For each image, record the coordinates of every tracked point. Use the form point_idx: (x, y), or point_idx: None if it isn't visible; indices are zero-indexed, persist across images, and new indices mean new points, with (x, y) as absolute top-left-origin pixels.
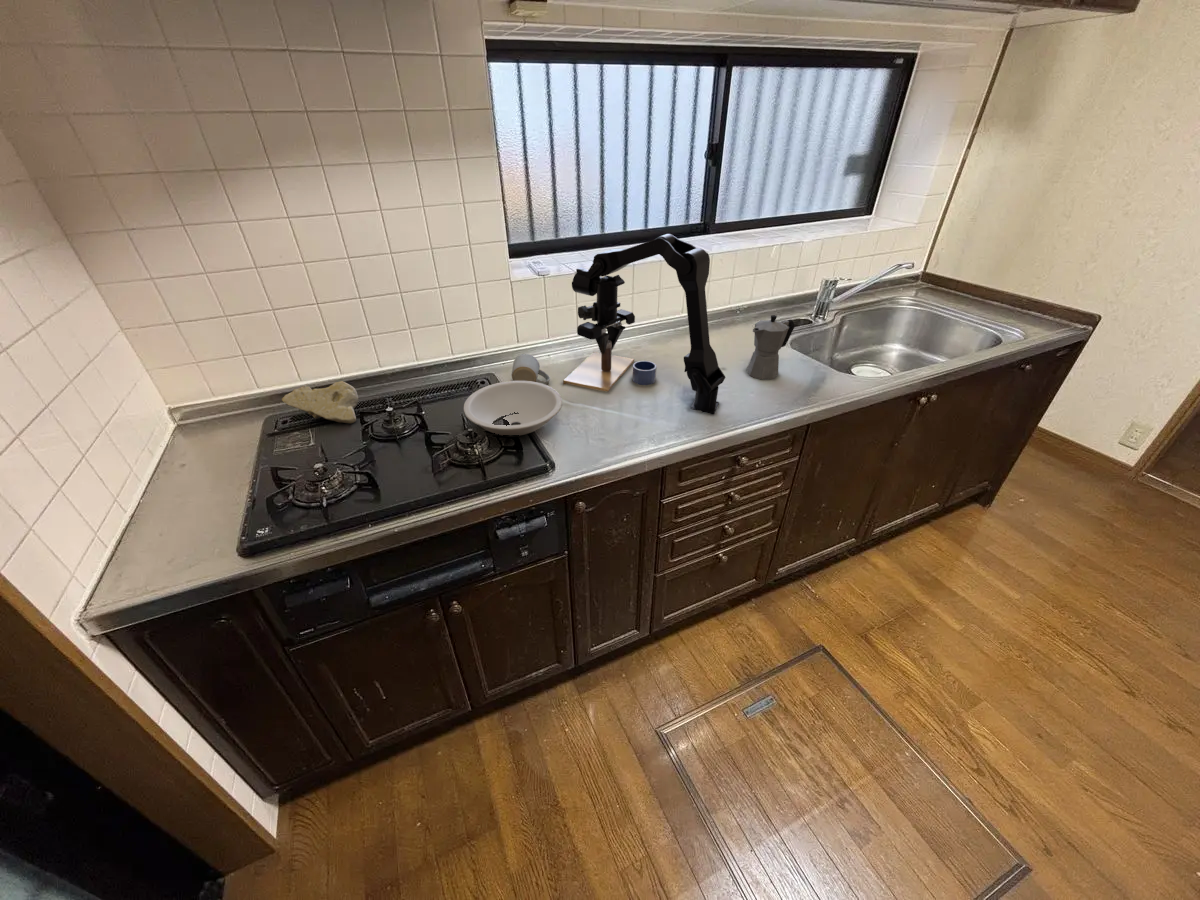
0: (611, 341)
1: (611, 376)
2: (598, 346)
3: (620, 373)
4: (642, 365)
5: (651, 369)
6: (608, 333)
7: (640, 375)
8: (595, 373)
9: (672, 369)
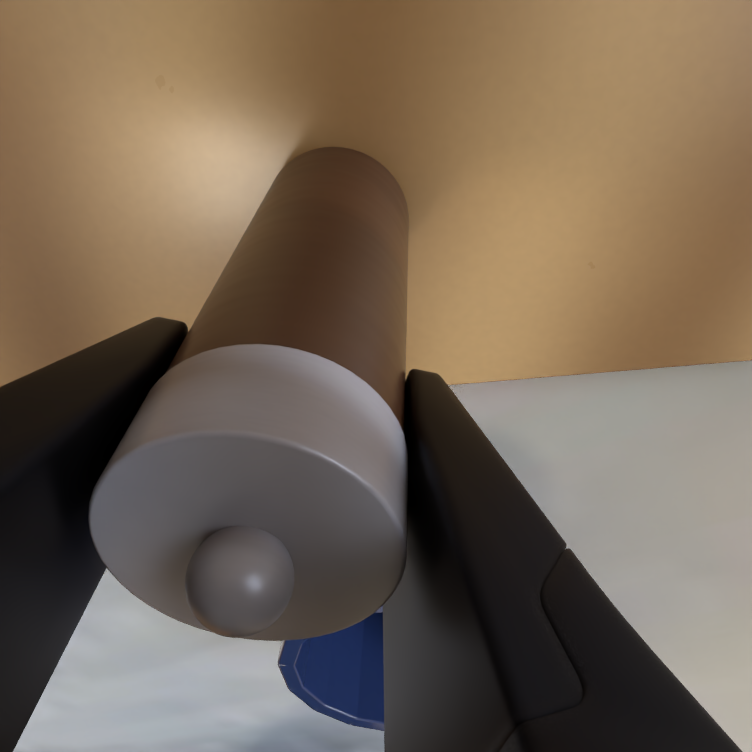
0: (350, 624)
1: None
2: (14, 383)
3: None
4: None
5: (356, 721)
6: (484, 719)
7: None
8: (168, 125)
9: (714, 614)
